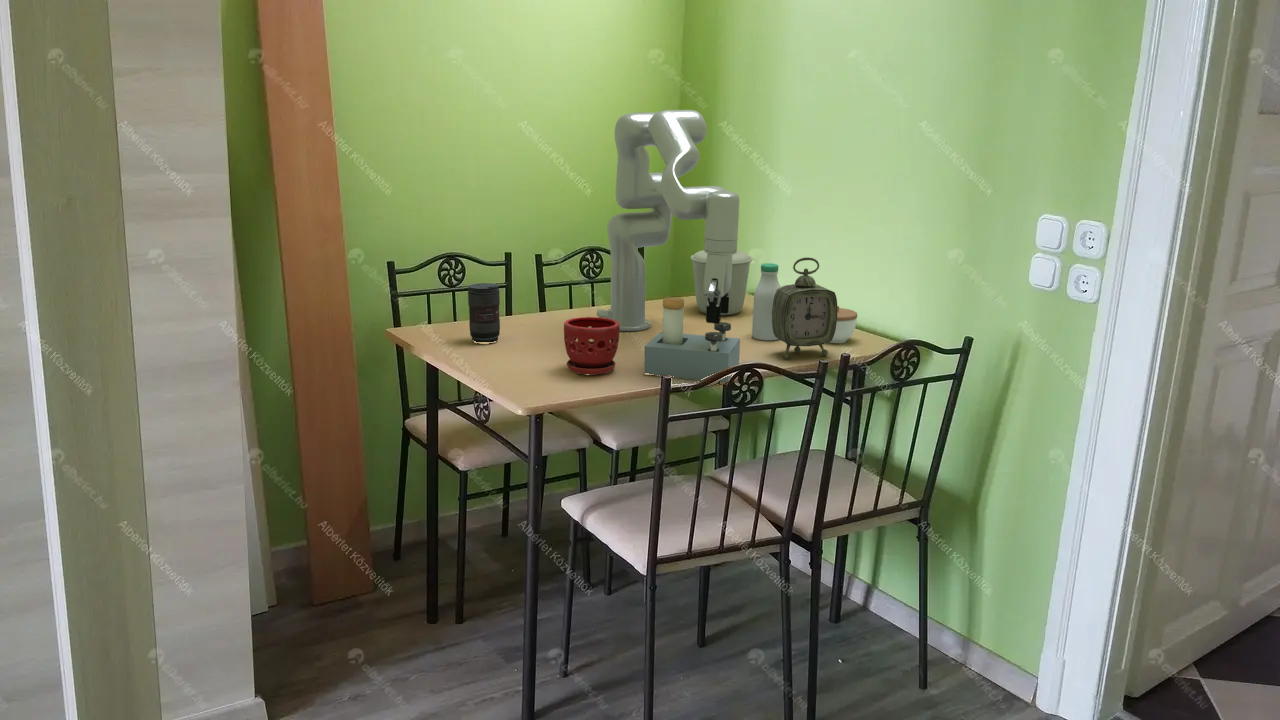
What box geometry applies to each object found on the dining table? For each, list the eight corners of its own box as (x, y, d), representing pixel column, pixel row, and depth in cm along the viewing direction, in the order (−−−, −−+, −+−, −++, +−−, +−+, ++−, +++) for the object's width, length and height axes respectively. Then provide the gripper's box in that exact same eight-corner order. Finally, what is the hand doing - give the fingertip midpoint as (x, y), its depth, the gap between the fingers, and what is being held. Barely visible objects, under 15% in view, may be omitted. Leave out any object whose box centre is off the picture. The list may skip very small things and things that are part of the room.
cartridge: (659, 358, 238) (660, 301, 234) (664, 353, 243) (665, 296, 239) (679, 360, 237) (681, 302, 233) (684, 354, 241) (686, 298, 238)
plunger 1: (702, 365, 231) (703, 335, 229) (706, 361, 235) (707, 331, 233) (719, 367, 230) (720, 337, 228) (723, 362, 233) (724, 332, 231)
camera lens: (506, 339, 265) (505, 284, 261) (489, 346, 258) (488, 289, 254) (481, 335, 268) (479, 281, 264) (463, 343, 261) (461, 286, 257)
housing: (644, 374, 236) (644, 346, 234) (659, 359, 248) (660, 331, 246) (727, 382, 230) (728, 353, 228) (738, 366, 243) (740, 338, 241)
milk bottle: (779, 342, 265) (783, 267, 259) (750, 340, 267) (753, 266, 261) (781, 334, 272) (785, 262, 267) (753, 333, 274) (756, 261, 268)
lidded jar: (807, 337, 271) (809, 303, 268) (842, 334, 274) (844, 300, 271) (827, 347, 261) (829, 312, 258) (863, 343, 264) (865, 309, 262)
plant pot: (620, 377, 233) (621, 328, 230) (564, 378, 232) (563, 328, 229) (617, 362, 246) (618, 314, 242) (564, 362, 245) (563, 315, 241)
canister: (677, 313, 295) (679, 242, 289) (709, 302, 309) (711, 234, 303) (730, 322, 285) (733, 249, 279) (761, 310, 299) (764, 240, 294)
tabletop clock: (781, 361, 247) (786, 261, 240) (767, 351, 256) (771, 255, 249) (834, 357, 251) (841, 259, 244) (818, 348, 260) (824, 253, 253)
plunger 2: (711, 354, 240) (712, 325, 238) (715, 350, 244) (716, 321, 242) (728, 355, 239) (729, 326, 237) (731, 351, 243) (732, 322, 241)
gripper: (712, 238, 238) (709, 307, 243) (696, 251, 222) (693, 325, 228) (743, 240, 236) (739, 310, 242) (729, 254, 220) (725, 328, 226)
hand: (717, 317), depth 235 cm, fingers open, 9 cm apart
